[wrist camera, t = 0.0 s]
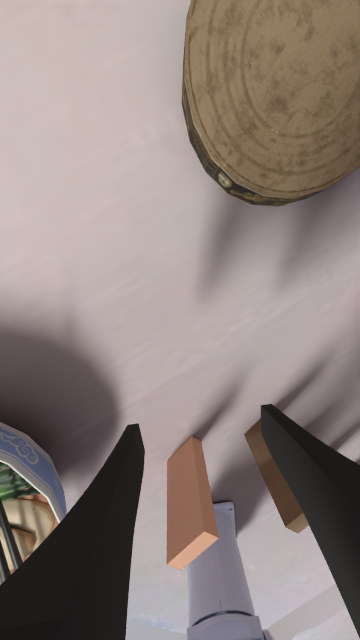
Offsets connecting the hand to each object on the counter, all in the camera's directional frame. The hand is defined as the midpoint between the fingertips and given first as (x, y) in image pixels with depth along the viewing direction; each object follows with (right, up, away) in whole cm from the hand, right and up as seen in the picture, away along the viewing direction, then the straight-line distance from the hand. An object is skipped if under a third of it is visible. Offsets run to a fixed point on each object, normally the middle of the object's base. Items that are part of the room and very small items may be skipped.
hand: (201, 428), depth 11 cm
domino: (+9, -7, +13) cm, 17 cm away
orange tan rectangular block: (-1, -11, +14) cm, 17 cm away
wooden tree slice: (+7, +24, +5) cm, 26 cm away
